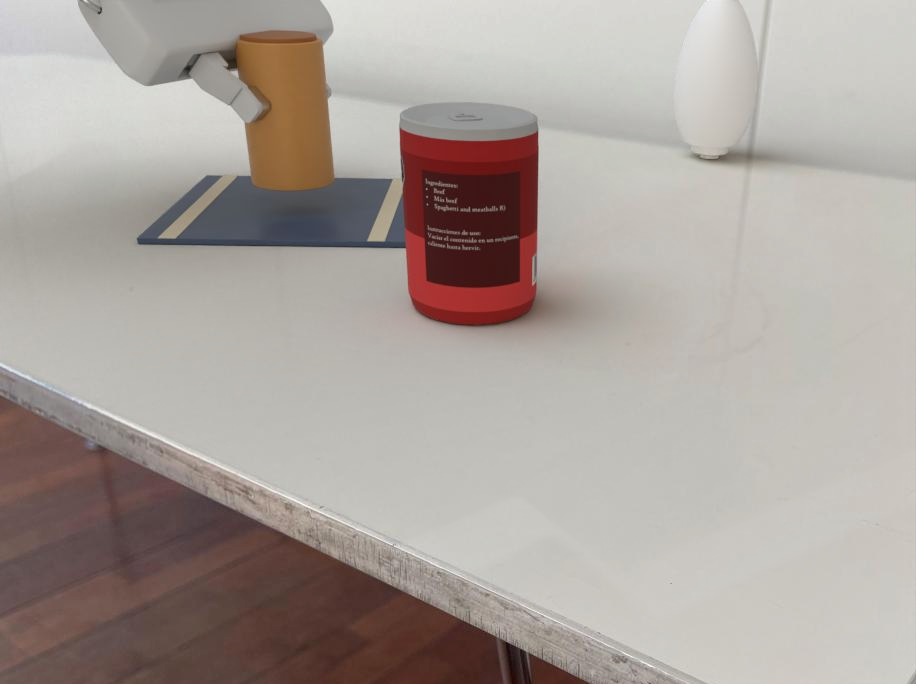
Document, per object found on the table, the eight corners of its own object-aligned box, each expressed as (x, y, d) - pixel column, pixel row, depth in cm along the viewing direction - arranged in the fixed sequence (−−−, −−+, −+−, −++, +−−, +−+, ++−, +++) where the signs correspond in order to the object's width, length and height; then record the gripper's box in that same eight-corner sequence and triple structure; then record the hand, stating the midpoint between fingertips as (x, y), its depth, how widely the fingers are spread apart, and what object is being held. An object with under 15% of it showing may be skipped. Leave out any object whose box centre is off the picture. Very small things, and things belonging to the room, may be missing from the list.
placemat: (137, 243, 68) (136, 237, 68) (207, 179, 84) (206, 174, 83) (405, 247, 69) (405, 241, 69) (424, 184, 85) (424, 178, 85)
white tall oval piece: (765, 161, 98) (788, -42, 90) (706, 169, 94) (725, -43, 86) (711, 145, 104) (728, -47, 95) (653, 153, 100) (666, -48, 91)
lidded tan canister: (243, 190, 72) (223, 37, 67) (261, 171, 77) (244, 28, 73) (328, 192, 73) (314, 40, 68) (340, 173, 78) (328, 31, 73)
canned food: (483, 273, 65) (480, 97, 60) (564, 308, 60) (568, 119, 55) (382, 297, 60) (369, 108, 55) (460, 337, 55) (454, 133, 50)
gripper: (62, -86, 60) (218, 98, 62) (272, -82, 77) (390, 63, 79) (22, -9, 64) (171, 163, 65) (233, -22, 81) (346, 116, 82)
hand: (293, 108), depth 72 cm, fingers closed on lidded tan canister, 6 cm apart
